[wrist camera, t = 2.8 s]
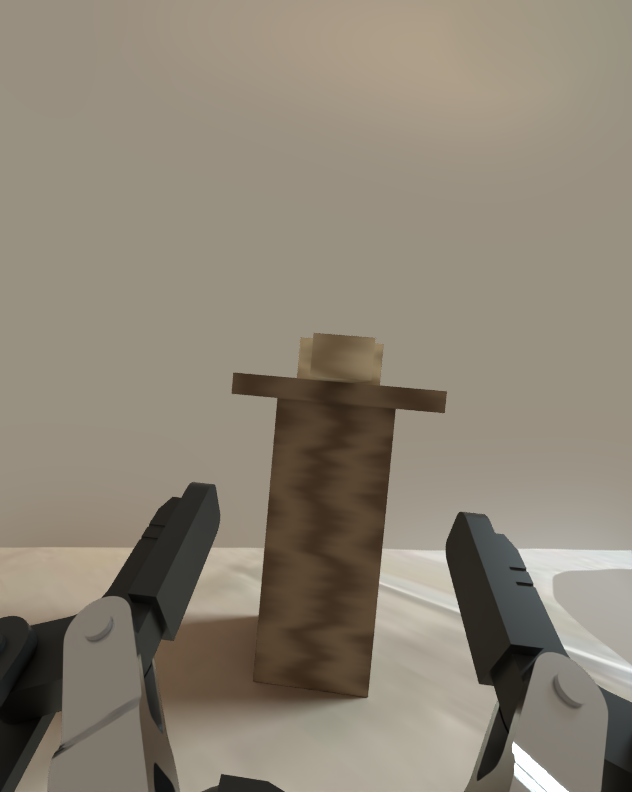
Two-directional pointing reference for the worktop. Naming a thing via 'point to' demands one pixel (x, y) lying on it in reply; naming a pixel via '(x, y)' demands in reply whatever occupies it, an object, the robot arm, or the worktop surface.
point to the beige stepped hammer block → (340, 359)
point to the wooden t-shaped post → (325, 527)
